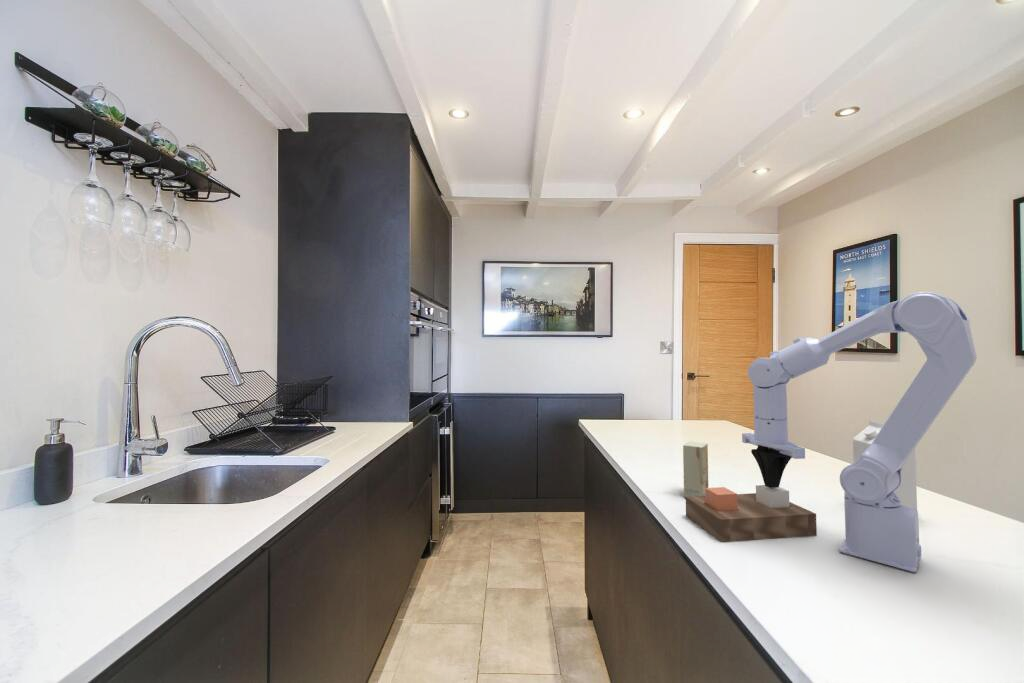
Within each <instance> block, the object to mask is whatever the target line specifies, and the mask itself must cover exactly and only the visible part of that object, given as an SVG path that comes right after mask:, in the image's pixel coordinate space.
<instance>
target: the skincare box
mask: <svg viewBox="0 0 1024 683" xmlns="http://www.w3.org/2000/svg"><path fill="white" fill-rule="evenodd" d="M682 454H683V457H682V460H683V461H682V462H683V497H684V498H686V497H694V496H706V492H705V488H709V457H708V456H709V451H708V443H705V442H700V441H699V442H698V441H697V442H695V441H688V442H686V443H685V444H683V446H682Z"/></svg>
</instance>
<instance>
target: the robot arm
mask: <svg viewBox="0 0 1024 683" xmlns="http://www.w3.org/2000/svg"><path fill="white" fill-rule="evenodd" d="M890 333H891V334H892V333H894V334H895V333H896V334H897V333H907V334H908V335H910V336H912V337H913V338H914V339H915V340H916V341H917V343H918V345H919V347H920V349H921V350H922V352H923V353H924V355H925V357H926V361H925V362H924V364H923V365H922V367H921V368H920V371H919V372H918V373H917V375H916V376H915V378H914V379H913V381H912V382H911V384H910V385H909V387H908V388H907V389H906V391H905V392H904V394H903V396H902V397H901V399H900V400H899V402H898V403H897V405H896V407H895V408H894V409H893V410H892V412H891V413H890V415H889V417H888V418H887V419H886V421H885V423H884V426H883V427H882V429H881V430H880V432H879V433H878V435H877V436H876V438H875V439H874V441H873V442H872V444H871V445H870V446H869V447H868V448H867V449H866V450H865V451H864V452H863V454H862V455H861V456H860V458H859V459H858V460H857V461H856V462H855V463H854V462H853V463H851V464H849V465H847V466H845V467H844V468H843V469H842V470H841V471H840V474H839V483H840V486H841V488H842V490H843V491H844V493H843V495H844V497H843V498H844V526H845V528H844V529H845V530H844V531H845V539H844V540H843V542H842V543H841V545H840V546H839V548H838V551H839V552H840V553H843V554H847V555H849V556H853V557H857V558H861V559H864V560H869V561H871V562H876V563H879V564H883V565H886V566H890V567H893V568H897V569H901V570H904V571H908V572H911V573H917V571H918V568H919V563H920V559H921V558H922V545H921V544H920V525H919V522H920V521H919V520H920V519H919V511H918V508H917V509H914V508H910V507H906V506H903V505H901V504H900V500H899V499H898V497H897V496H896V494H895V493H894V490H896V489H897V488H898V487H899V486H900V484H901V481H902V477H901V472H902V469H903V467H904V466H905V464H906V462H907V460H908V457H909V455H910V454H911V453H912V451H913V450H914V448H915V449H916V447H917V446H918V444H919V443H920V441H921V440H922V439H923V437H924V436H925V435H926V433H927V431H928V430H929V428H930V427H931V426H932V425H933V423H934V422H935V421H936V418H937V417H938V415H939V414H940V413H941V412H942V410H943V409H944V408H945V406H946V404H947V403H948V402H949V400H950V399H951V398H952V397H953V394H954V393H955V392H956V390H957V389H958V387H959V386H960V385H961V383H962V382H963V380H964V379H965V377H967V375H968V373H969V372H970V370H971V369H972V367H973V366H974V365H975V364H976V361H977V353H976V348H975V343H974V340H973V335H972V329H971V324H970V318H969V316H968V315H967V314H966V312H964V310H963V309H962V308H961V306H960V305H959V304H958V303H957V302H956V301H954V300H953V299H951V298H948V297H946V296H944V295H941V294H940V293H939V294H938V293H936V292H933V291H920V292H919V291H918V292H915V293H911V294H908V295H907V296H905V297H903V298H902V299H901V300H900V301H899V300H896V301H892V302H889V303H886V304H885V305H882V306H880V307H878V308H876V309H874V310H872V311H869V312H868V313H866V314H864V315H862V316H861V317H858V318H856V319H855V320H853V321H852V322H849V323H847V324H845V325H843V326H841V327H839V328H838V329H836V330H834V331H832V332H830V333H828V334H827V335H825V336H823V337H821V338H815V337H808V336H807V337H804V338H803V337H798V338H795V339H793V340H792V342H793V344H791V345H789V346H786V347H785V348H783V349H781V350H778V351H777V350H773V351H771V352H769V355H770V356H769V357H757V358H756V359H755V360H754V361H752V362H751V363H750V365H749V366H748V368H747V376H748V378H749V381H750V382H751V383H752V386H753V388H752V389H753V393H752V394H753V427H754V428H753V430H754V431H753V432H754V433H751V432H749V433H746V432H744V433H741V441H742V443H744V444H751V445H753V446H757V447H756V448H755V449H754V448H753V449H751V452H750V453H751V454H752V455H753V457H754V459H755V461H756V463H757V465H758V467H759V470H760V474H761V477H762V480H763V483H764V484H763V485H765V486H767V487H769V488H776V487H780V485H781V481H782V477H783V474H784V471H785V469H786V466H787V465H788V464H789V462H790V460H791V459H794V460H798V459H799V460H803V459H806V448H805V447H802V446H800V445H797V444H796V443H793V442H791V441H789V437H788V436H789V435H788V434H789V433H788V430H789V429H788V427H789V426H788V395H787V384H788V383H789V382H790V380H791V379H795V378H797V377H801V376H802V375H804V374H807V373H809V372H811V371H814V370H816V369H817V368H821V367H823V366H825V365H827V364H828V362H829V359H830V358H831V357H830V356H831V354H834V353H836V352H838V351H841V350H843V349H845V348H849V347H850V346H853V345H855V344H858V343H861V342H862V341H865V340H868V339H870V338H872V337H875V336H877V335H880V334H890Z"/></svg>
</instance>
